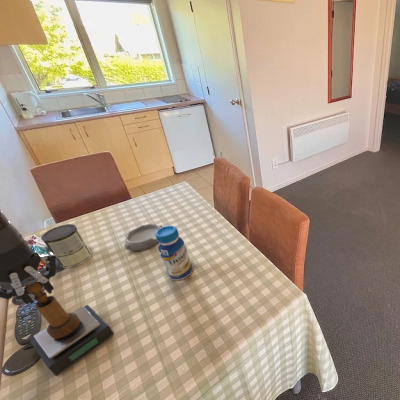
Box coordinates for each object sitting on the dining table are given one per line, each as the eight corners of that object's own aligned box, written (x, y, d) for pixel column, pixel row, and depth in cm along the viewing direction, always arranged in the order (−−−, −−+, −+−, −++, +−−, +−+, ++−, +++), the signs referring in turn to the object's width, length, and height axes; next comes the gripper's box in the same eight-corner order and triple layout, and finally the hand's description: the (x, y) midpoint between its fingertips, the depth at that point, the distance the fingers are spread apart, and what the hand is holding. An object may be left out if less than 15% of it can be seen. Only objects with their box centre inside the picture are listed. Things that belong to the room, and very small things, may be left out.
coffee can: (53, 267, 105) (33, 239, 98) (77, 250, 114) (60, 223, 107) (75, 269, 104) (57, 241, 96) (98, 252, 112) (82, 224, 105)
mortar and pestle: (56, 322, 77) (20, 278, 68) (83, 314, 79) (52, 270, 70) (46, 342, 72) (6, 297, 62) (76, 333, 74) (40, 288, 65)
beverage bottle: (185, 261, 107) (171, 221, 97) (198, 270, 102) (184, 228, 92) (165, 274, 101) (147, 232, 91) (177, 284, 96) (159, 241, 86)
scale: (56, 377, 70) (47, 367, 67) (37, 348, 77) (27, 338, 74) (114, 334, 80) (108, 324, 78) (93, 312, 87) (86, 302, 84)
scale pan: (50, 359, 69) (49, 357, 69) (34, 337, 74) (33, 335, 74) (100, 324, 78) (99, 323, 77) (83, 307, 83) (82, 305, 82)
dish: (165, 229, 126) (162, 220, 123) (160, 247, 114) (156, 238, 112) (131, 235, 122) (127, 227, 119) (122, 255, 110) (117, 246, 108)
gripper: (34, 224, 67) (67, 274, 76) (-53, 257, 57) (-2, 310, 65) (45, 234, 63) (79, 284, 72) (-45, 271, 53) (7, 324, 62)
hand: (40, 296), depth 69 cm, fingers closed on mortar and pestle, 3 cm apart
